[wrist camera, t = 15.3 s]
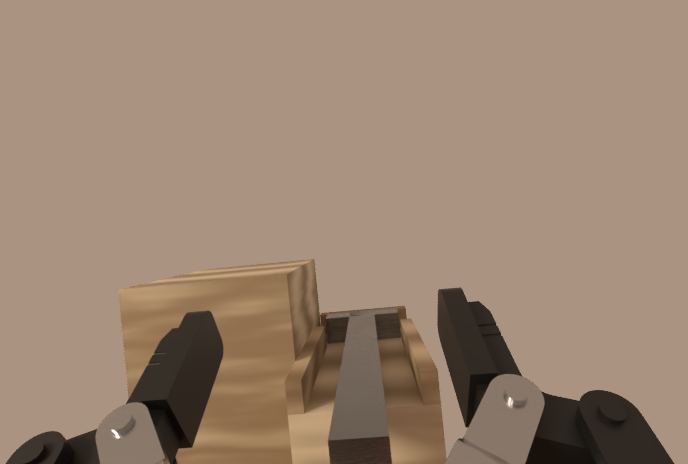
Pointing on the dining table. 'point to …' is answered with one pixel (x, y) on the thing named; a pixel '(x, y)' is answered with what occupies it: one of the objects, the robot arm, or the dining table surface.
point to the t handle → (360, 387)
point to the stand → (280, 367)
